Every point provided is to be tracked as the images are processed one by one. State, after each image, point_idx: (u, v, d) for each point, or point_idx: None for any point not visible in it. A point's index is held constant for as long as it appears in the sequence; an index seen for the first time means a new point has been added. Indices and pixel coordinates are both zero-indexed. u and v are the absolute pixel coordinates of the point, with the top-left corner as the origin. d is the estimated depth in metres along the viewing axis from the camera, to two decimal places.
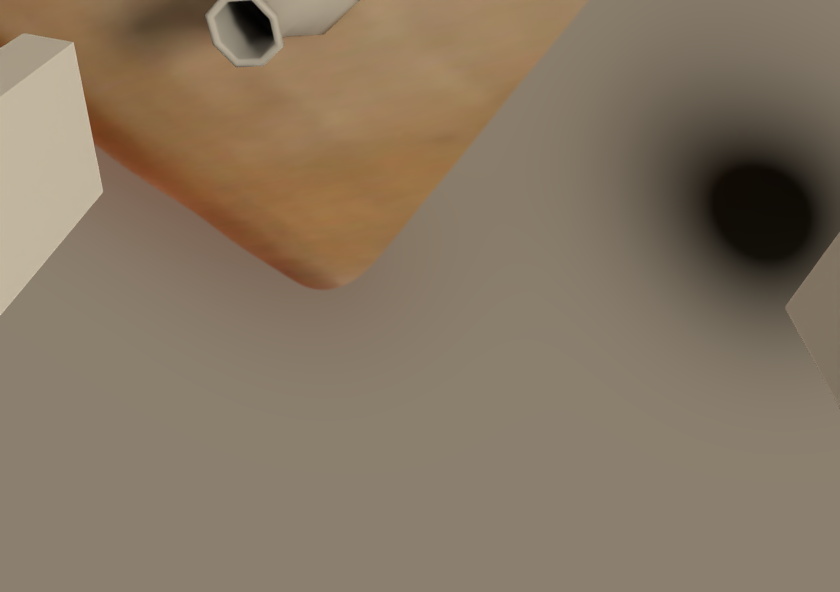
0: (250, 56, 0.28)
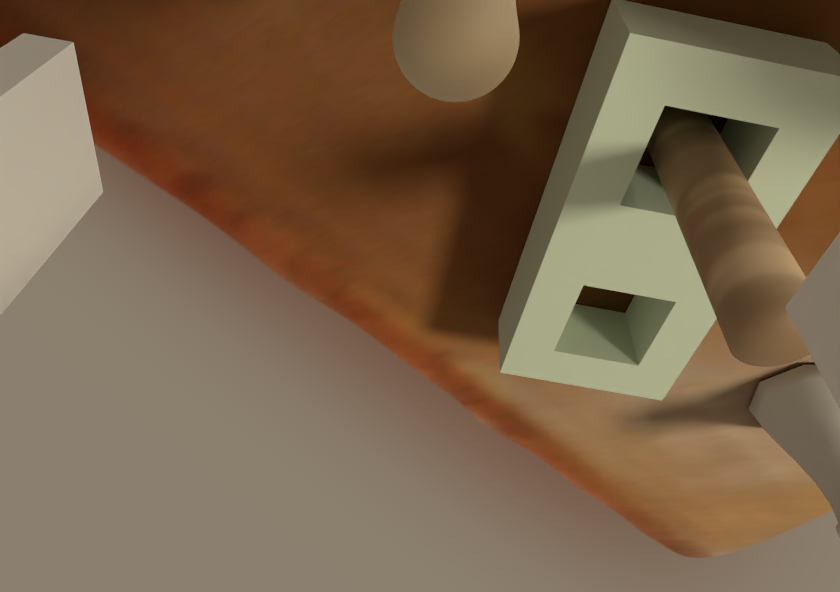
0: None
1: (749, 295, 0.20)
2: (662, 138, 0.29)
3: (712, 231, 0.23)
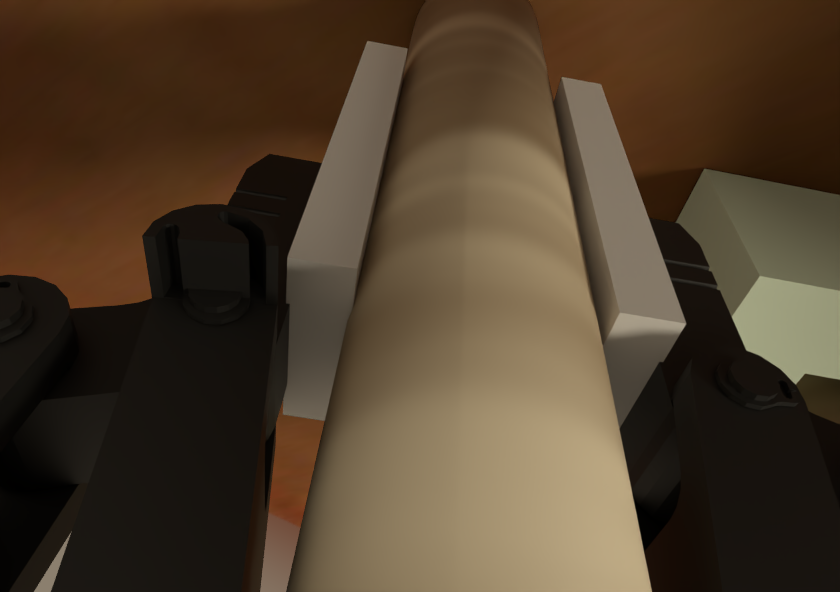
0: None
1: None
2: None
3: None
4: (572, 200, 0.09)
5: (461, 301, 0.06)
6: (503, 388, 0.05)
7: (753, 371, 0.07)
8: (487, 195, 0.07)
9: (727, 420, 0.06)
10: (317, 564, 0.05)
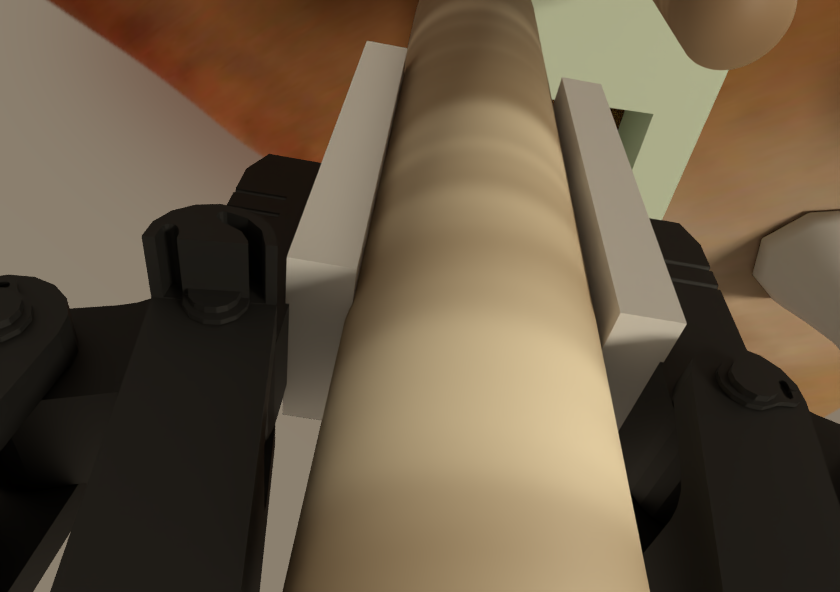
0: None
1: None
2: None
3: None
4: (564, 165, 0.10)
5: (461, 241, 0.07)
6: (499, 310, 0.06)
7: (754, 371, 0.07)
8: (485, 155, 0.08)
9: (728, 420, 0.06)
10: (335, 457, 0.05)
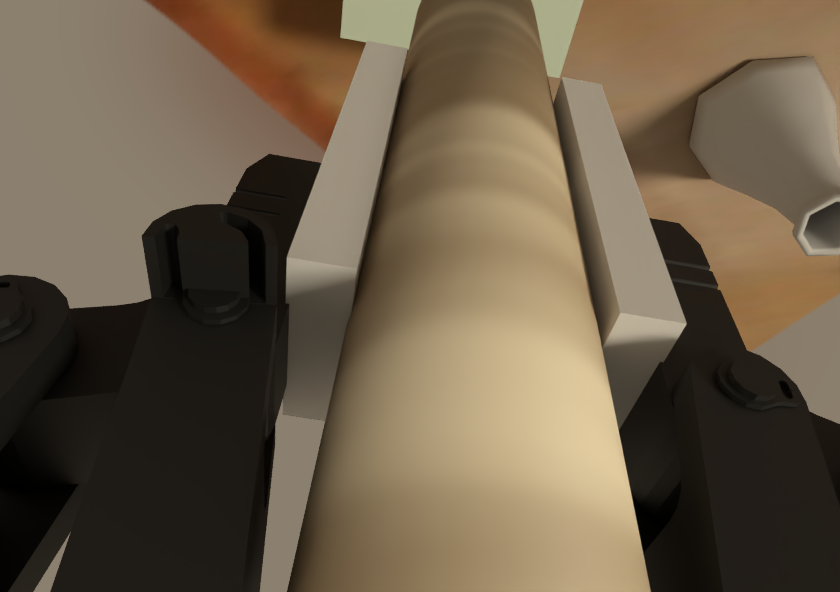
0: (820, 244, 0.28)
1: None
2: None
3: None
4: (565, 169, 0.10)
5: (462, 246, 0.07)
6: (500, 316, 0.06)
7: (754, 371, 0.07)
8: (486, 159, 0.08)
9: (728, 420, 0.06)
10: (338, 462, 0.05)
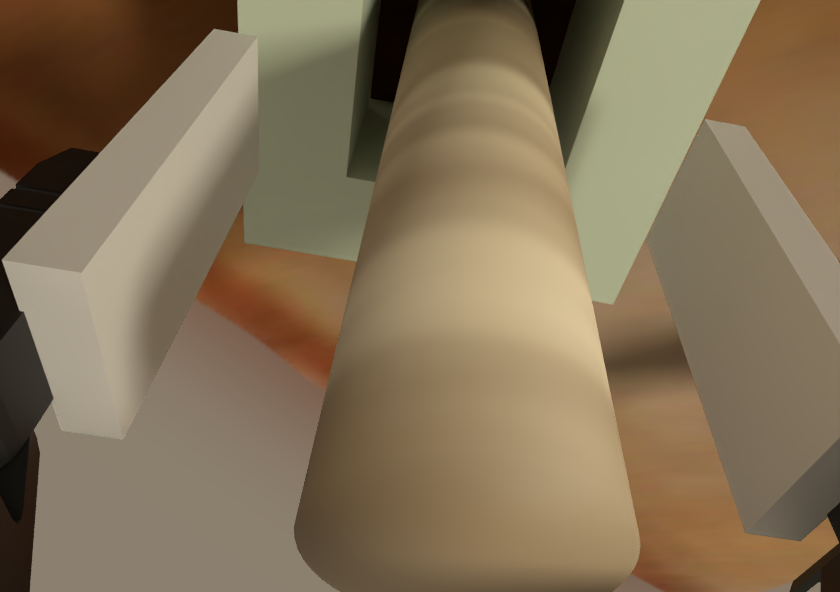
0: None
1: None
2: None
3: None
4: (555, 123, 0.11)
5: (462, 170, 0.08)
6: (494, 221, 0.07)
7: None
8: (483, 105, 0.09)
9: None
10: (357, 333, 0.06)
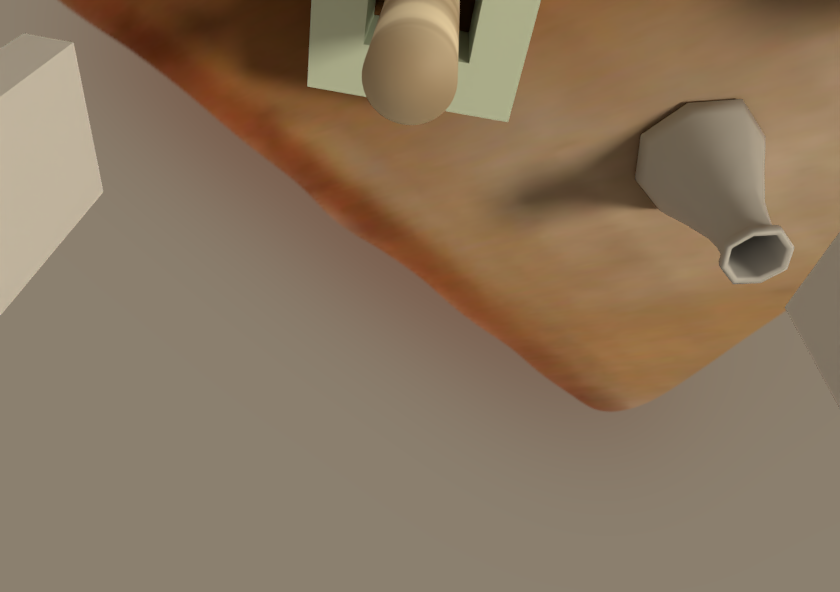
0: (745, 273, 0.31)
1: None
2: None
3: None
4: None
5: None
6: (422, 1, 0.21)
7: None
8: None
9: None
10: (378, 29, 0.21)
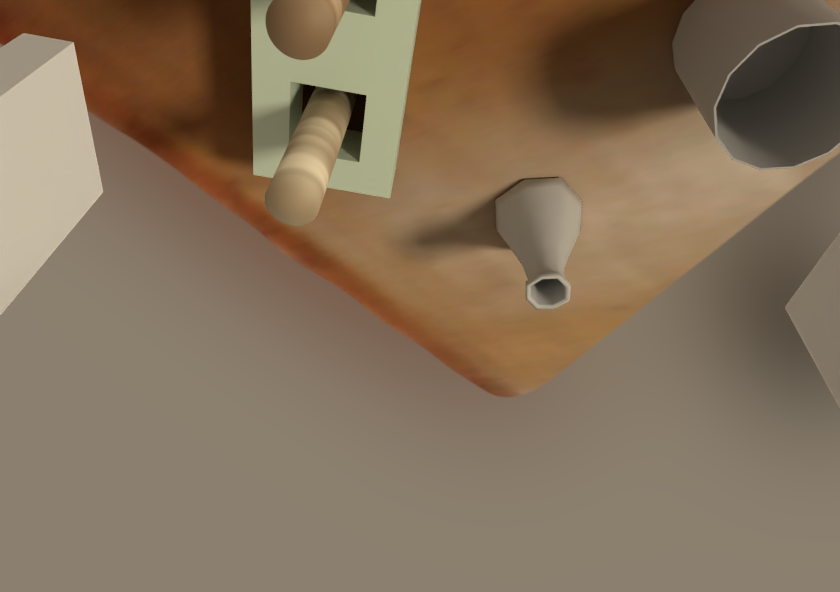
0: (545, 302, 0.46)
1: None
2: None
3: None
4: (337, 132, 0.40)
5: (301, 143, 0.37)
6: (304, 152, 0.36)
7: None
8: (312, 128, 0.39)
9: None
10: (276, 171, 0.36)
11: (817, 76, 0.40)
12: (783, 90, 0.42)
